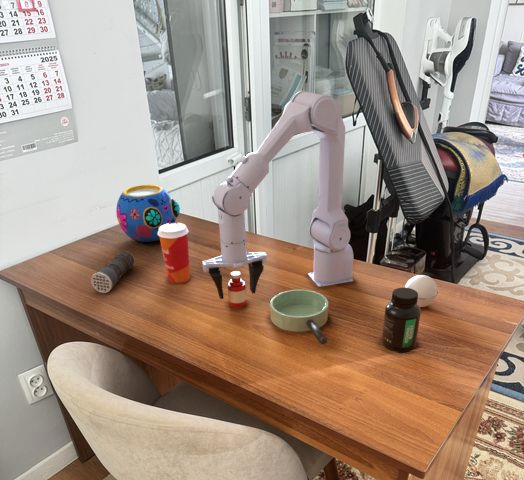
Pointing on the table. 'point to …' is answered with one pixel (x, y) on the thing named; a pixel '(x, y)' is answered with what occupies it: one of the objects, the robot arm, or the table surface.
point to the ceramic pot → (145, 211)
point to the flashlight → (112, 272)
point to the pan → (298, 309)
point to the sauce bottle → (236, 290)
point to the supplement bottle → (401, 321)
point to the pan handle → (316, 332)
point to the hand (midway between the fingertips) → (237, 294)
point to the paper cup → (175, 251)
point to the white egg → (423, 289)
